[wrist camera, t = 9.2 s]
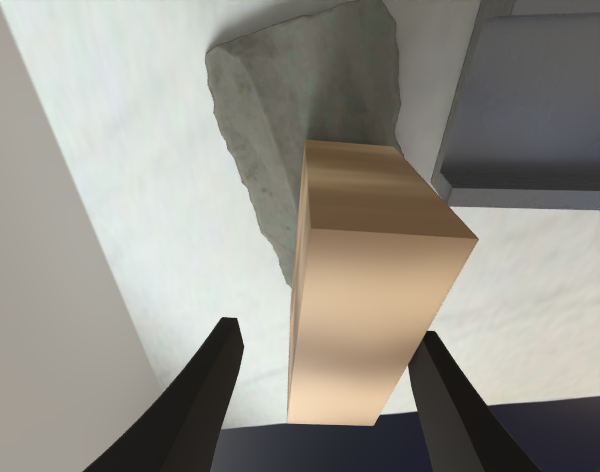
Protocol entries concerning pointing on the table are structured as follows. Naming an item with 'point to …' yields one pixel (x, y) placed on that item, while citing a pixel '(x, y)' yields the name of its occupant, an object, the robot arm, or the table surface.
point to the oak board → (364, 278)
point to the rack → (526, 110)
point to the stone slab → (303, 102)
